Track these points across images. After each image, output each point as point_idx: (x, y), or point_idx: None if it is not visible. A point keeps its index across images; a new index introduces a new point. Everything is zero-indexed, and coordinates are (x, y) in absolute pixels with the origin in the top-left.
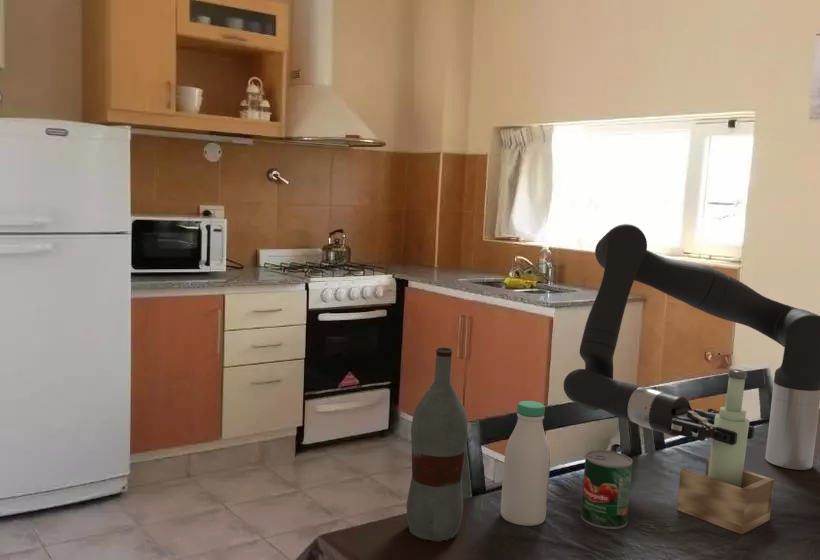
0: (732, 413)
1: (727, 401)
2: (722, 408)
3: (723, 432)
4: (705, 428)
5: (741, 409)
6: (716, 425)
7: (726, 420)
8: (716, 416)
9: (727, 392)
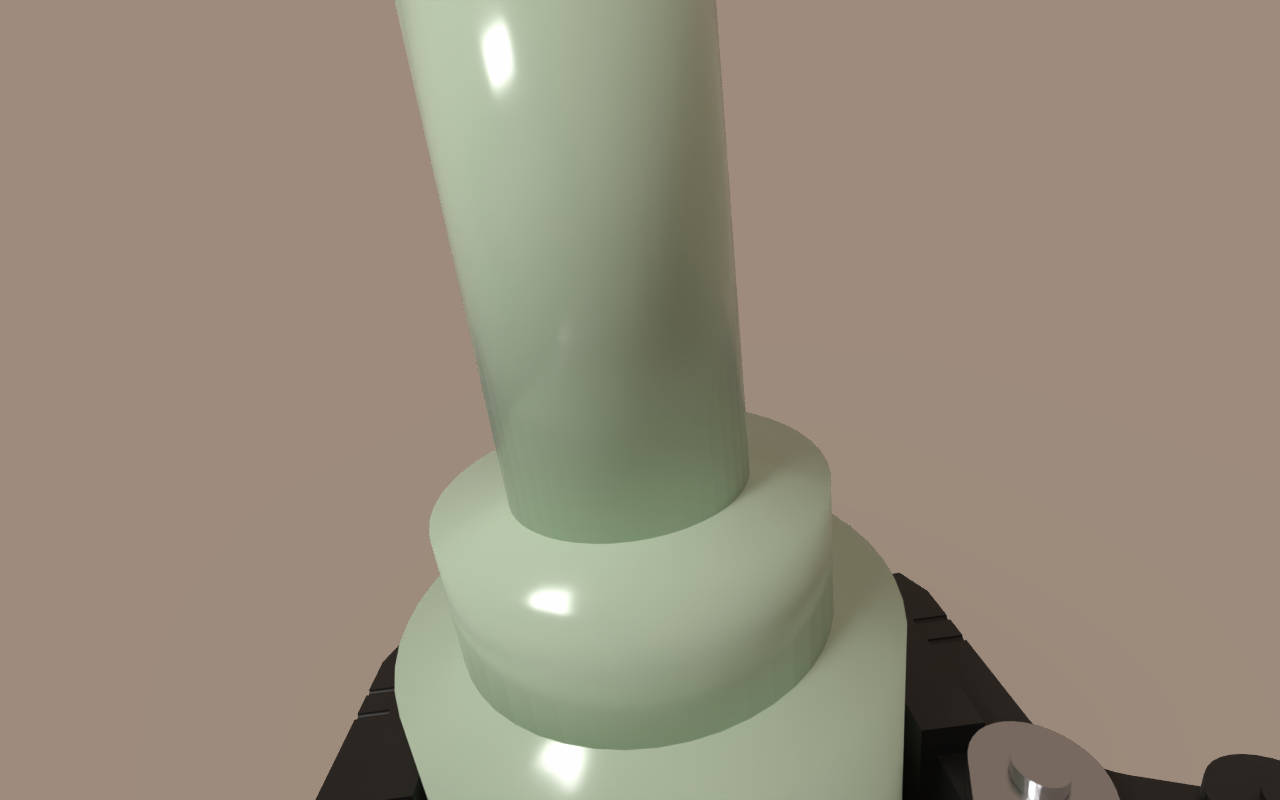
0: (784, 428)
1: (729, 340)
2: (732, 543)
3: (930, 637)
4: (1234, 772)
5: (470, 475)
6: (898, 766)
7: (835, 556)
8: (846, 718)
9: (689, 162)
